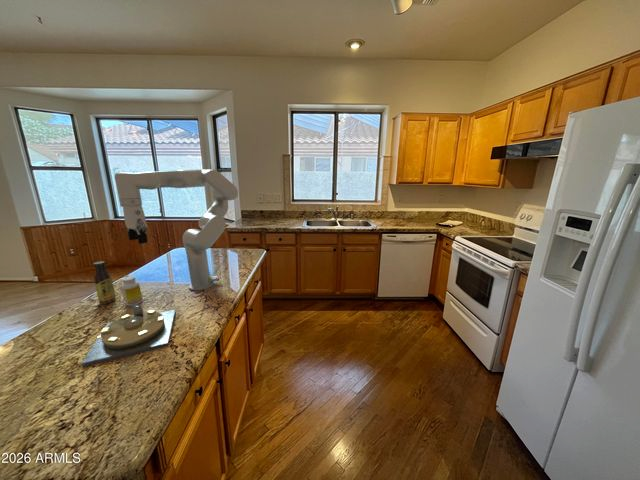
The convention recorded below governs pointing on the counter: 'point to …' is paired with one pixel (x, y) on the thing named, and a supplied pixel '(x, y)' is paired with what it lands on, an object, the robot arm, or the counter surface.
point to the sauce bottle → (103, 284)
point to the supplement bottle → (131, 291)
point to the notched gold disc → (132, 329)
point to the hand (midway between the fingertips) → (138, 241)
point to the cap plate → (104, 354)
